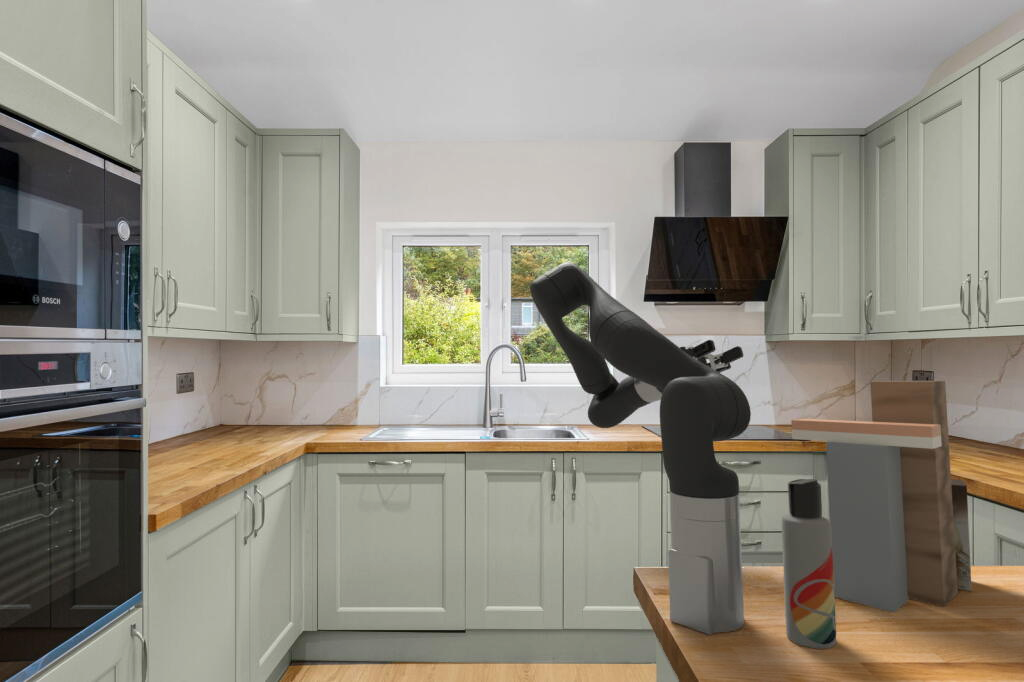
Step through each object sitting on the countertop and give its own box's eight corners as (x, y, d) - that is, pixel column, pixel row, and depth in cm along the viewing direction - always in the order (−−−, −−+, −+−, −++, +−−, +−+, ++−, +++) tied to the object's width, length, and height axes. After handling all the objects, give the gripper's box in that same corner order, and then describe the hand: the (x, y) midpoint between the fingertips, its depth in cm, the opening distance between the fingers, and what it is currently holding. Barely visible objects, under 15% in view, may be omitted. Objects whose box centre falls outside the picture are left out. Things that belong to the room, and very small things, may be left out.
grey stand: (893, 612, 82) (885, 446, 83) (833, 596, 88) (825, 441, 90) (908, 601, 86) (899, 442, 87) (849, 586, 92) (841, 438, 93)
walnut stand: (944, 606, 84) (931, 381, 86) (881, 591, 90) (870, 381, 92) (957, 594, 88) (945, 380, 90) (896, 580, 94) (886, 381, 96)
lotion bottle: (835, 654, 70) (827, 484, 71) (783, 643, 73) (776, 480, 74) (838, 635, 75) (830, 477, 76) (789, 626, 78) (782, 474, 79)
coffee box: (901, 581, 94) (895, 480, 95) (900, 570, 99) (895, 474, 100) (973, 592, 89) (967, 484, 90) (968, 579, 94) (962, 478, 95)
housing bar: (933, 448, 80) (931, 426, 80) (792, 438, 94) (791, 420, 95) (941, 446, 82) (940, 424, 83) (803, 436, 97) (802, 418, 97)
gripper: (633, 357, 118) (698, 323, 106) (679, 366, 126) (744, 335, 114) (641, 393, 115) (709, 361, 103) (688, 399, 123) (756, 371, 111)
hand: (727, 347), depth 109 cm, fingers open, 8 cm apart
